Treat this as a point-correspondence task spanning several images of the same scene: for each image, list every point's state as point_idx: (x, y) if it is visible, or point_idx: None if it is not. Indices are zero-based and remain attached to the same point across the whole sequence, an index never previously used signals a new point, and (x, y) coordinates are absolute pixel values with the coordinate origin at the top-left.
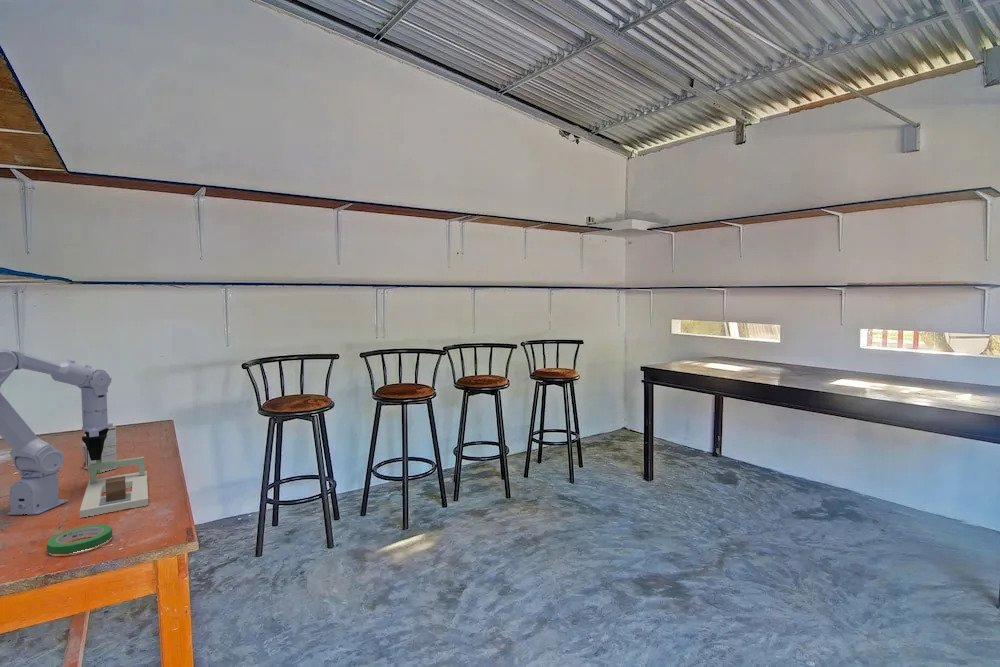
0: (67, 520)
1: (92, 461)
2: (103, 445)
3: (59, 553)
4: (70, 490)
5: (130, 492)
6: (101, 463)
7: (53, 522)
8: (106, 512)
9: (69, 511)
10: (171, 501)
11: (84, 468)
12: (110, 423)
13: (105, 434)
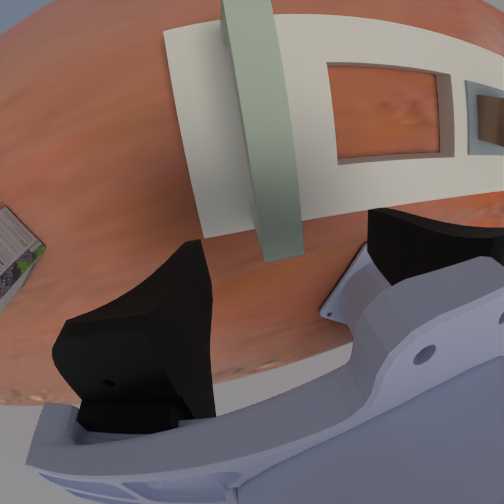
0: (488, 205)
1: (15, 288)
2: (189, 258)
3: None
4: (227, 273)
5: (468, 81)
6: (288, 204)
7: None
8: None
9: (445, 215)
10: (480, 13)
11: None
12: (390, 378)
13: (167, 308)
